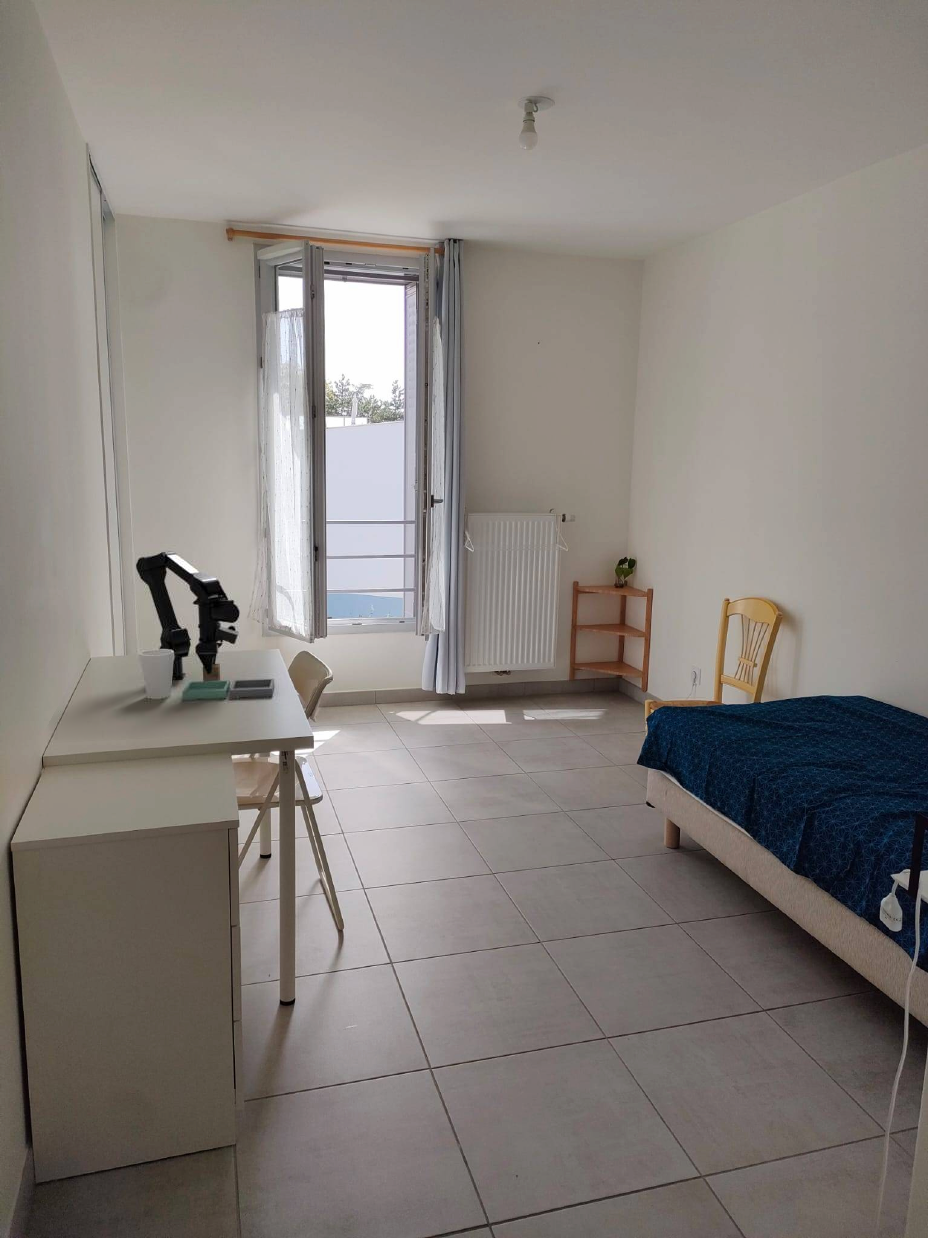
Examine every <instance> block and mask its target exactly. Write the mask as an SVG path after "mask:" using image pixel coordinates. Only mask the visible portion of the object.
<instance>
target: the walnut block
mask: <svg viewBox="0 0 928 1238" xmlns="http://www.w3.org/2000/svg"><path fill="white" fill-rule="evenodd" d="M220 665H221V664H220V663H215V664H212V671H211V674H207V672H206V670H205V668H204V666H203V665H202V681H221V668H220Z"/></svg>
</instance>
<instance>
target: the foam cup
mask: <svg viewBox="0 0 928 1238" xmlns="http://www.w3.org/2000/svg"><path fill="white" fill-rule="evenodd" d="M138 659H139V660H138V661H139V662H140V667H141V671H142V675H143V676H142V677H143V682H144V686H145V691H146V696H147V698H148V697H149V698H148V699H150V698H151V699H150V700H161V699H162V698H163V699H166V698H165V697H167V698H169V696H170V695H172V685H173V684H172V683H173V679H172V674H173V661H174V651H173V650H169V649H159V648H154V649H149V650H143V651H140V652H139V653H138ZM170 697H171V696H170Z"/></svg>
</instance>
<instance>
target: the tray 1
mask: <svg viewBox="0 0 928 1238" xmlns="http://www.w3.org/2000/svg"><path fill="white" fill-rule="evenodd" d="M230 687H231V680H220V681H203V680H201V681H188V682H187V684H186V685H185V686H184V689H183V690H182V701H198V700H197V699H207V700H224V698H226V697H227V698H228V696H227V695H229V694H230V692H229V690H230ZM227 698H226V699H227Z"/></svg>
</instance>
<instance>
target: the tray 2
mask: <svg viewBox="0 0 928 1238" xmlns="http://www.w3.org/2000/svg"><path fill="white" fill-rule="evenodd" d="M274 690H275V679H274V678H261V679H258V678H257V679H256V678H255V679H254V678H253V679H233V680H232V682H231V684H230V690H229V699H230V698H233V699H240V698H239V697H258V698H273V695H274ZM237 697H238V698H237Z"/></svg>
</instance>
